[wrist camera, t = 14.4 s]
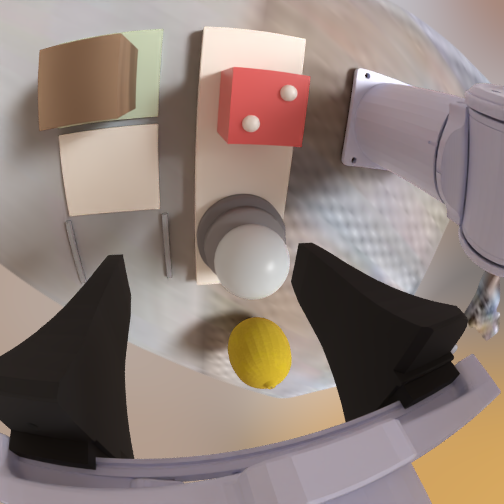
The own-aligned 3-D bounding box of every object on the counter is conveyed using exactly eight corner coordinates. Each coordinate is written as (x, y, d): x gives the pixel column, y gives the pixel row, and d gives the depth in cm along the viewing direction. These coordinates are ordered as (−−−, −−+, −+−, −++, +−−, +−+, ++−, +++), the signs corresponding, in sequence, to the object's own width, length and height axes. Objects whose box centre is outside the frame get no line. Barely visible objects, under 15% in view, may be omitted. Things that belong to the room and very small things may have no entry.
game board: (299, 40, 15) (312, 37, 14) (270, 271, 25) (277, 285, 24) (54, 46, 11) (42, 43, 9) (83, 284, 21) (78, 300, 20)
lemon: (216, 308, 26) (233, 380, 20) (273, 294, 27) (304, 360, 21) (226, 343, 29) (243, 408, 23) (276, 330, 30) (302, 392, 24)
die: (283, 76, 16) (314, 76, 12) (277, 134, 18) (304, 149, 14) (221, 71, 15) (235, 66, 11) (216, 131, 17) (229, 145, 13)
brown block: (138, 49, 13) (121, 33, 8) (135, 108, 15) (117, 118, 10) (78, 58, 12) (39, 50, 7) (77, 115, 14) (39, 131, 9)
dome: (286, 205, 20) (316, 240, 16) (276, 271, 23) (298, 313, 19) (204, 207, 18) (214, 246, 14) (204, 277, 21) (213, 324, 17)
